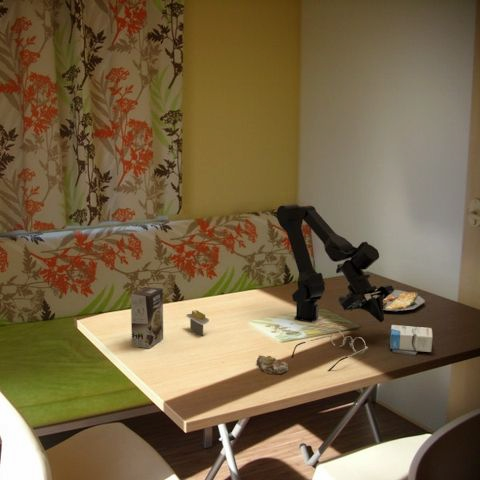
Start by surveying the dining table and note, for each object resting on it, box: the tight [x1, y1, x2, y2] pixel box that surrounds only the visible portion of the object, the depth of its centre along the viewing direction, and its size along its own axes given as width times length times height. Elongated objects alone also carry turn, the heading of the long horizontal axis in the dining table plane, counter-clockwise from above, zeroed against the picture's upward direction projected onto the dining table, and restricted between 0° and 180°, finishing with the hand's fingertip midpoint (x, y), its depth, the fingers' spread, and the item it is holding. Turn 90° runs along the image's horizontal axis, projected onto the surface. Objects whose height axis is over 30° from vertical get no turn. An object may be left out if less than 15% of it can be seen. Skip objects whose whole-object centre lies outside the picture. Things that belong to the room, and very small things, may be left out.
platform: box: [186, 309, 210, 337], centre depth 219 cm, size 12×18×7 cm, turn 33°
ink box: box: [389, 324, 434, 353], centre depth 206 cm, size 8×5×12 cm
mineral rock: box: [256, 355, 289, 375], centre depth 191 cm, size 11×4×8 cm
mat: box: [392, 349, 419, 356], centre depth 207 cm, size 7×10×1 cm, turn 155°
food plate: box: [375, 287, 426, 313], centre depth 250 cm, size 25×23×4 cm
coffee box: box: [130, 286, 164, 349], centre depth 208 cm, size 9×6×16 cm
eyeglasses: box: [291, 330, 369, 372], centre depth 200 cm, size 16×19×5 cm
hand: (382, 321), depth 208 cm, fingers closed
